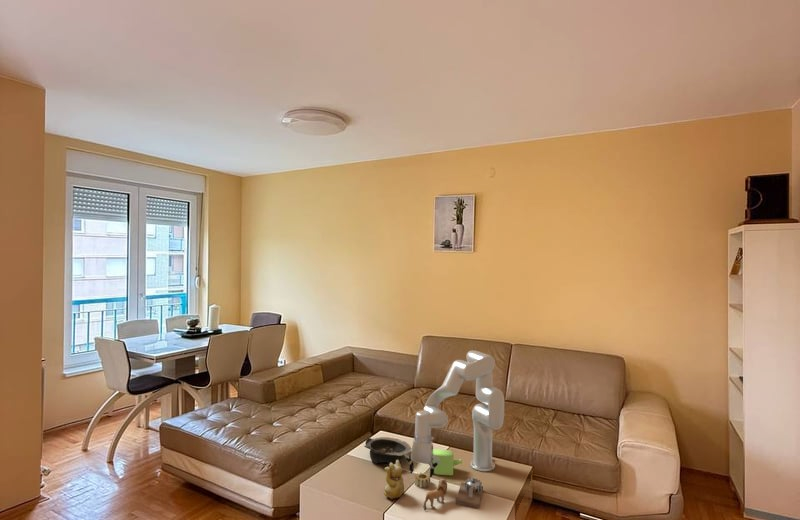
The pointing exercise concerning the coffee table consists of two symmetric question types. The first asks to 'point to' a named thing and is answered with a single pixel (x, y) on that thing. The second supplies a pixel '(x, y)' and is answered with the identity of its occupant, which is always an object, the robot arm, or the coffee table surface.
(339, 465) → the coffee table surface
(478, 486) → the grey gear
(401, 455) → the stone bowl
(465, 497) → the gear board
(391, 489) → the decorative figurine
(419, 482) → the brass gear
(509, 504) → the coffee table surface
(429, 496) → the lion figurine
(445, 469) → the green square teapot
